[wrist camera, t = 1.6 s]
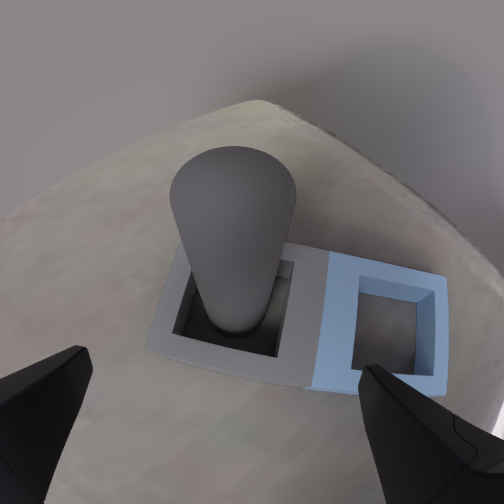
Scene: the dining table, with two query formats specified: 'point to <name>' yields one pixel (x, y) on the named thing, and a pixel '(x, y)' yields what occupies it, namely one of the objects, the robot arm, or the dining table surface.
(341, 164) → the dining table surface
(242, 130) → the dining table surface
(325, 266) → the two-hole peg board
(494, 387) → the dining table surface
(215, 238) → the plug
